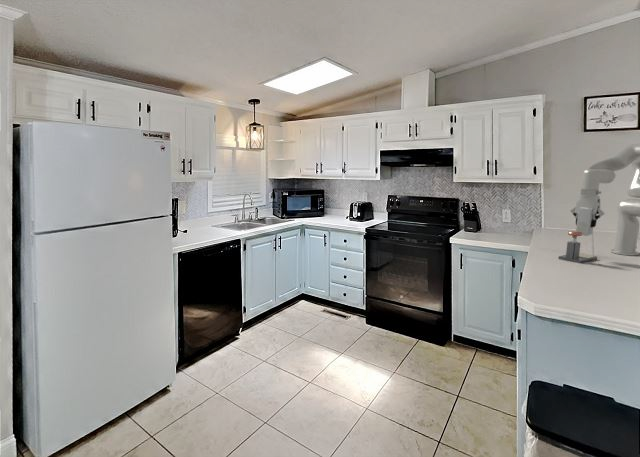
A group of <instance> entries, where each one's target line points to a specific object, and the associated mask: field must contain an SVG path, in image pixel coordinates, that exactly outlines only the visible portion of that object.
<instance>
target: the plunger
mask: <svg viewBox="0 0 640 457" xmlns="http://www.w3.org/2000/svg"><path fill="white" fill-rule="evenodd" d="M567 235H569V236H571V241H572V243H576V242H578V241H577V239H578V237H581V236H583V235H582V232H576V230H573V231H571V230H569V231H567Z"/></svg>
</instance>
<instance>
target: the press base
mask: <svg viewBox="0 0 640 457" xmlns="http://www.w3.org/2000/svg"><path fill="white" fill-rule="evenodd" d="M580 249H581V242H579V241H576V243H572V240H570V241H567V244H566V251H565V252H566V253H565V254H563V255H558V260H562V261H567V262H572V263H577V264H585V263H588V262H593V261H596V260H598V256H596V255H592V254H587V253H581V250H580Z"/></svg>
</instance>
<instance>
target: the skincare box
mask: <svg viewBox="0 0 640 457" xmlns="http://www.w3.org/2000/svg"><path fill="white" fill-rule="evenodd" d="M591 220H593V218H592V209H591V208H579V213H578V220H577V225H576V228H575V231H576V232H582V236H585V237H587V236H590V235H593V232H594V227H591Z"/></svg>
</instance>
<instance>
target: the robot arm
mask: <svg viewBox="0 0 640 457" xmlns="http://www.w3.org/2000/svg"><path fill="white" fill-rule="evenodd" d="M629 165H631V166H632V169H633V175H632V177H631V180H630V183H629V185H628V189H627V195H628V197H631V198H625V199H622V200H621V201H619V202H618V205H617V213H618V214H617V215H618V220H617V227H616V234H615V235H616V236H615V243H614V244H615V245H614V248H613V249H612V248H611V249H610V253H613V254H617V255H621V256H640V253H639V252H638V251H636V250H637V248H638V247H637V244H638V240H639V233H640V232H639V230H640V221H639V219H638V218H640V143H632V144H631V143H630V144H628V145H626V146H624V147H623V148H621V150H619V151H618V152H617V153H615V154H614V155H613V156H611V157H609V158H606V159H603V160H600V161H598V162H596V163H594V164H592V165H591V166H589V167H588V168H587V169H584V171H583V172H582V177H581V178H582V179H581V187H580V195H578V198H577V201H576V205H575V207H574V208H572V209H570V212H571V214H572V215H573V216H574V219H575V226H577V220H578V213H579V208H591V209H592V218H593V220H591V227H593V228H595V227H596V225H597V221H598V219H600V218H601V217H603V216H604V215H605V212H604V211H603V210H602V209H601V197H600V196H599V195H601V194H602V191H601V190H599V189H600V185H602V184H605V185H607V184H610V183H612V182H614V181H615V179H616V173H615V172H618V171H622V170H624V169H626V168H627V167H628V166H629ZM634 198H635V199H634ZM636 198H637V199H636ZM637 217H638V218H637Z"/></svg>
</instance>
